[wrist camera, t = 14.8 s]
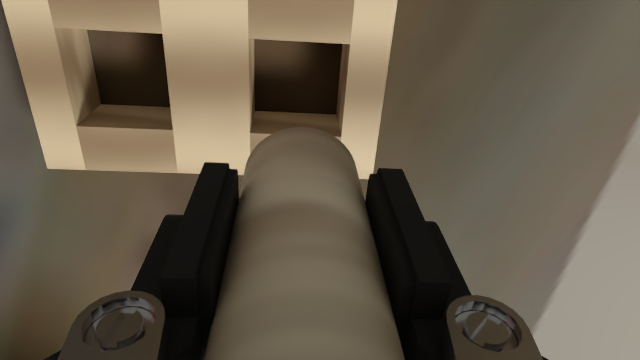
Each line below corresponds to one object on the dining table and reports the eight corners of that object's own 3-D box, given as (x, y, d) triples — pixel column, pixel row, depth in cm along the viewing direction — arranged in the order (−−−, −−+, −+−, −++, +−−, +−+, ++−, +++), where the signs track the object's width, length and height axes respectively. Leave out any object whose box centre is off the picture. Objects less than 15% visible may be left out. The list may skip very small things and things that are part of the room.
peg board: (364, 153, 25) (372, 179, 22) (74, 142, 24) (47, 168, 21) (385, -18, 21) (398, -11, 18) (32, -42, 19) (-10, -38, 17)
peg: (352, 227, 13) (414, 551, 6) (243, 225, 13) (184, 559, 6) (365, 128, 12) (466, 417, 5) (241, 122, 11) (155, 420, 4)
